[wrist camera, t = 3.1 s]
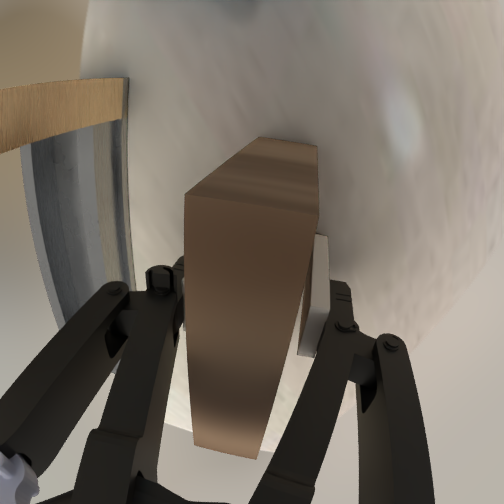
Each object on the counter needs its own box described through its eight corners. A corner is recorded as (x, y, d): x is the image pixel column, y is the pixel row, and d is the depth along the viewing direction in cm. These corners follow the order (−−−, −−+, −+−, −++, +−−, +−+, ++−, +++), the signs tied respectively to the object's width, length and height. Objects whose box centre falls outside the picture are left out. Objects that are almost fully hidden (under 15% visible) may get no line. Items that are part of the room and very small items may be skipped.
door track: (44, 88, 16) (-107, 128, 5) (129, 77, 15) (-63, 104, 5) (80, 334, 27) (11, 425, 16) (146, 357, 26) (83, 469, 15)
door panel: (259, 136, 16) (184, 194, 7) (317, 145, 15) (319, 215, 7) (239, 318, 21) (194, 444, 13) (282, 326, 21) (256, 459, 12)
